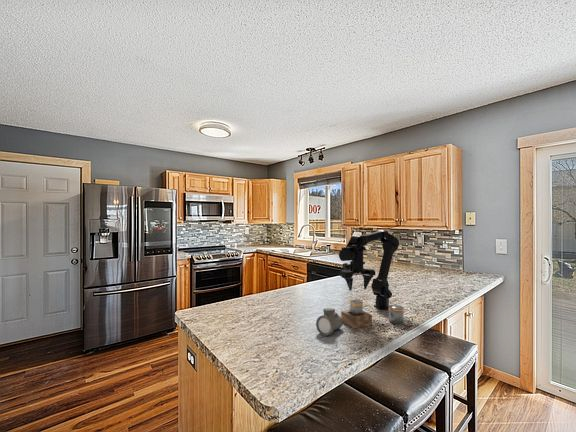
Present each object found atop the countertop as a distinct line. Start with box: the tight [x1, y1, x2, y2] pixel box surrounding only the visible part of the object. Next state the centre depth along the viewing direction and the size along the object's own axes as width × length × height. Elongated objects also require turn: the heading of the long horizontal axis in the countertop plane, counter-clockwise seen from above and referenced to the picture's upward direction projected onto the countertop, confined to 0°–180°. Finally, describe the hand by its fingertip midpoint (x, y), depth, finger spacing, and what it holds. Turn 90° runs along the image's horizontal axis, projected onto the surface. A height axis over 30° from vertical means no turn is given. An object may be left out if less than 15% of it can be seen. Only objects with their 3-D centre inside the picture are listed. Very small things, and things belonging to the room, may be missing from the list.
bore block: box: [340, 309, 373, 329], centre depth 130 cm, size 10×10×4 cm
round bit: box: [388, 304, 405, 326], centre depth 131 cm, size 7×7×7 cm
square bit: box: [349, 299, 364, 316], centre depth 130 cm, size 4×4×9 cm
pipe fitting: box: [315, 307, 344, 337], centre depth 120 cm, size 12×8×10 cm
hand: (357, 289), depth 143 cm, fingers open, 9 cm apart
